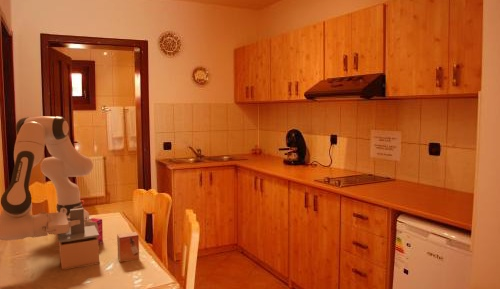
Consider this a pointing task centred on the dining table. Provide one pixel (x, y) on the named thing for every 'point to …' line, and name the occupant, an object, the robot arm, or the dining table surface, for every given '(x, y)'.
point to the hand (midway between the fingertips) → (79, 220)
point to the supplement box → (98, 226)
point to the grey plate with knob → (78, 228)
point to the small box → (128, 246)
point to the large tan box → (79, 253)
